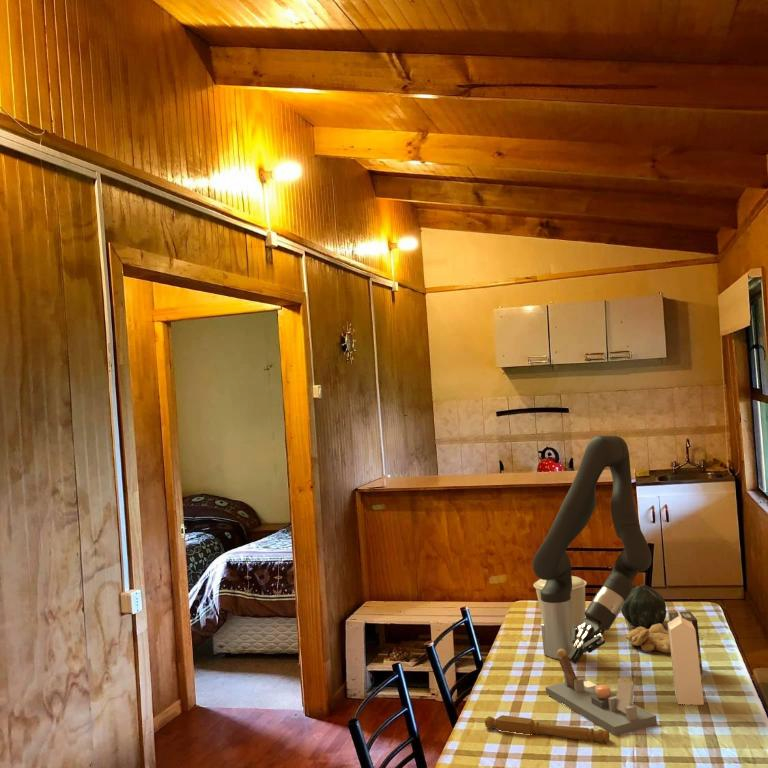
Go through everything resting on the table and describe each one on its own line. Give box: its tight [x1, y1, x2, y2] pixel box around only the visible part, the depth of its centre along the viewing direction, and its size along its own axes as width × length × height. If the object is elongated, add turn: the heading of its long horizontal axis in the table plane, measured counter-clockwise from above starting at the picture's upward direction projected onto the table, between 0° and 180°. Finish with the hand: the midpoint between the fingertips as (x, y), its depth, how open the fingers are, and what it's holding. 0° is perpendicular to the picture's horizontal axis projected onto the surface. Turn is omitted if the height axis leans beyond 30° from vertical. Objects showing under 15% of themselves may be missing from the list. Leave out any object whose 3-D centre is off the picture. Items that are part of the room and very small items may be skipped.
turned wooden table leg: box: [484, 715, 610, 744], centre depth 175 cm, size 3×3×30 cm
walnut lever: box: [557, 649, 578, 688], centre depth 196 cm, size 3×3×11 cm
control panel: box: [545, 674, 658, 737], centre depth 187 cm, size 12×30×5 cm, turn 20°
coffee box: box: [667, 611, 704, 680], centre depth 205 cm, size 9×6×16 cm
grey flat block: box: [615, 677, 635, 713], centre depth 178 cm, size 1×5×7 cm, turn 18°
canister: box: [533, 575, 587, 626], centre depth 253 cm, size 18×18×21 cm
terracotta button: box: [595, 684, 612, 698], centre depth 185 cm, size 4×4×2 cm
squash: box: [620, 584, 667, 629], centre depth 252 cm, size 14×15×15 cm
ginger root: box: [624, 623, 671, 653], centre depth 228 cm, size 16×16×8 cm
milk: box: [667, 610, 704, 706], centre depth 187 cm, size 6×6×22 cm
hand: (571, 661), depth 197 cm, fingers closed
